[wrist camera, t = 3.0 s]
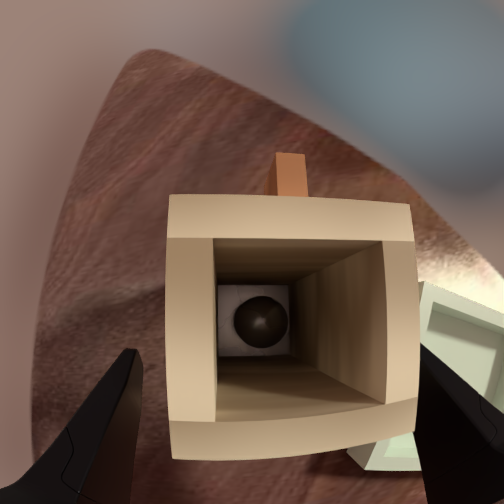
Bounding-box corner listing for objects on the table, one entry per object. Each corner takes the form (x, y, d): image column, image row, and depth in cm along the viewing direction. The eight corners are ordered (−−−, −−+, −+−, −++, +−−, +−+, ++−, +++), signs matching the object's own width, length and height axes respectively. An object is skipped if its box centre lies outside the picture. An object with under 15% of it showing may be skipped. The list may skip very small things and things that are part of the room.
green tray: (472, 454, 17) (493, 463, 14) (346, 452, 17) (364, 469, 14) (509, 328, 20) (532, 327, 17) (399, 286, 20) (424, 281, 17)
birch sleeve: (306, 369, 17) (414, 431, 6) (201, 373, 16) (172, 459, 6) (303, 240, 18) (398, 151, 8) (200, 239, 18) (175, 135, 7)
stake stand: (317, 381, 18) (344, 398, 13) (185, 385, 17) (175, 406, 13) (314, 254, 19) (340, 236, 15) (185, 253, 19) (174, 234, 14)
